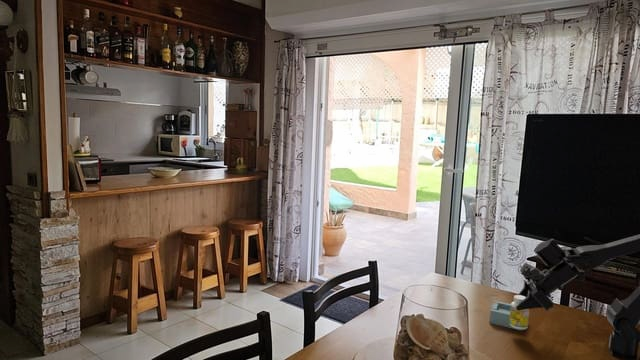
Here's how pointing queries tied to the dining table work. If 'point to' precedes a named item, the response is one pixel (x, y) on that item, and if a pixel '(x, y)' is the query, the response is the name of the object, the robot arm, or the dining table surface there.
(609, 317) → the robot arm
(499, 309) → the teal tray
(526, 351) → the dining table surface
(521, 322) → the supplement bottle
